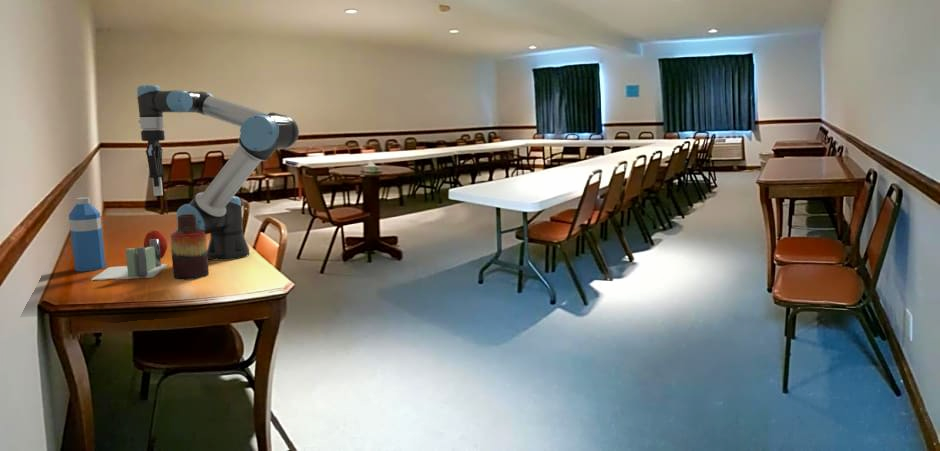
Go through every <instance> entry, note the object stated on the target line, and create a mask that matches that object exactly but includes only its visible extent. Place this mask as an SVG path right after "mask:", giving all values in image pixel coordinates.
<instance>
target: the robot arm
mask: <svg viewBox="0 0 940 451" xmlns="http://www.w3.org/2000/svg"><path fill="white" fill-rule="evenodd" d="M136 96H137V97H136V99H137V104H138V115H139V120H138V122H137V123H138V124H140V125H139V126H140V129H142V130H140V138H141V141H143V142H147V146H146V149H145V153H146V157H147V164H148V170H149V178H152V188H153V196H155V197H156V196H158V197H159V196H163V195H164V194H163V193H164V192H163V191H164V190H163V181H162V178H163V177H164V172H163V171H164V170H163V148H162V146H161V144H160V141H165V138H166V137H165V131H164V130H163V129H164V128H165V125H164V117H163V115H164V114H163V113H178V114H179V113H195V114H200V115H203V116H206V117H209V118H213V119H216V120H218V121H222V122H225V123H228V124H232V125H235V126H237V127H240V128H239V132H240V134H239V138H238V140H237V141H238V145H239V146H237V148H236V150H235V151H234V152H233V153H232V155H231V156H230V158H229V159H228V160H227V162H226V163H225V164H224V165H223V166H222V168H221V169H220V171H219V172H218V173H217V175H215V177H214V178H213V180H212V181H211V183H210V184H209V185H208V186H207V188H206V189H205V191H203V192H202V191H201V192H198V193H197V194H196V195H195V196H194V197H193V198H192V200H191V201H190V202H189V203H185V204H183V205H181V206H180V207H179V208H178V209H177V211H176V216H175V219H176V220H177V216H178V215H184V214H194V215H195V217H196V223H197V228H198V229H201V230H204V231H205V234H206V235H208V234H209V235H210V238H209V242H208V246H207V257H208V259H209V260H216V261H217V260H218V261H224V260H226V261H227V260H234V259H241V258H245V256H246V257H248V256H249V255H250V248H249V245H248V243H247V241H246V238H245V236H244V229H243V228H244V225H243V213H242V212H243V211H242V203H241V198H240V197H239V196H236V194H237V192H238V191H239V190H240V189H241V187H242V186H243V185H244V184H245V182H247V180H248V178H249V177H250V176H251V175H252V173H253V172H254V171H255V169H256V168H257V167H258V166H259V164H260V163H261V162H266V161H268V160H269V159H270V158H271V157H272V155H273V154H274V153H275V151H277V150H282V149H283V150H284V149H287V148H291V147H292V146H293V145H294V144H295V143H296V142H297V140H298V138H299V135H300V134H299V133H300V131H299V126H298V124H297V122H296V121H295V120H294V119H293V118H292V117H291V116H289V115H285V114H280V113H277V112H273V111H271V112H269V113H267V112H265V111H260V110H259V109H254V108H252V107H249V106H244V105H242V104H239V103H236V102H233V101H229V100H226V99H223V98H220V97H216V96H213V94H212V93H210V92H206V91H187V90H184V89H183V90H181V89H173V90H161V87H160V86H159V85H155V84H154V85H153V84H152V85H148V84H147V85H144V84H143V85H139V86H138V87H137V88H136ZM247 255H248V256H247Z"/></svg>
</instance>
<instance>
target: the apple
mask: <svg viewBox="0 0 940 451" xmlns="http://www.w3.org/2000/svg"><path fill="white" fill-rule="evenodd" d="M151 239H159V247H160V258H163V257H164V256H165V254H166V253H167V249H168V243H167V240H166V238H165V236H164V235H163V233H162V232H161V231H159V230H149V231H148V232H147V233H146V234H145V236H144V239H143V247H145V248H147V247H150V242H149V240H151Z"/></svg>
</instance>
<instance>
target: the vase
mask: <svg viewBox="0 0 940 451" xmlns="http://www.w3.org/2000/svg"><path fill="white" fill-rule="evenodd" d="M176 223H177V224H176V225H177V226H176V227H177V229H176V230H174V231H172V232H171V233H169V234H170V235H169V238H170V239H169V240H170V248H171V249H170V250H171V252H170V253H171V261H172V274H173V278H174V279H175V280H182V281H183V280H196V279H200V278H201V277H202V278H205V277H207V276H209V275H210V273H209V260H208V257H207V249H208V246H207V234H205V231H204V230H201V229H198V228H197V223H196V217H195V215H194V214H184V215H178V216H177V219H176ZM202 278H201V279H202Z"/></svg>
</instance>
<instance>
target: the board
mask: <svg viewBox="0 0 940 451" xmlns="http://www.w3.org/2000/svg"><path fill="white" fill-rule="evenodd" d="M168 265H169V264H168V263H161V266H158V267H154V268H152V269H150V270H148V271H147V275H146V276H143V277H146V278H147V279H149V278H155V277H156V276H157V275H159V274H160V272H162V271H163V270H164V269H165V268H166V267H168ZM140 277H141V276H140ZM146 278H145V279H146ZM105 279H115V280H129V279H140V278H139V275H138V276H136V277H128V269H127V265H126V266H125V265H123V266H122V265H121V266H109V267H107V268H106V269H105V270H102V271H101V272H100V273H98V274H97V275H95V276H93V277H92V278H91V279H90V280H91V282H93V280H98V281H106V280H105Z"/></svg>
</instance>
